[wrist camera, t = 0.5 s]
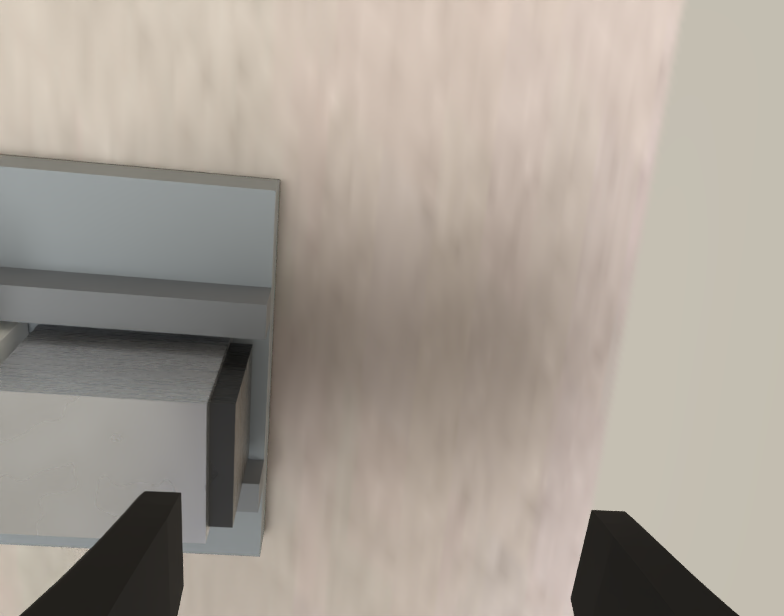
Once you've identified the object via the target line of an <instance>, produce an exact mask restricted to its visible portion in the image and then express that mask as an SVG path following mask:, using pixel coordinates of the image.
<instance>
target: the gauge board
mask: <svg viewBox="0 0 784 616" xmlns="http://www.w3.org/2000/svg"><path fill="white" fill-rule="evenodd" d="M279 190H280V180H278V179H266V178H255V177H244V176H233V175H222V174H211V173H200V172H189V171H178V170H167V169H156V168H144V167H133V166H122V165H111V164H100V163H89V162H78V161H67V160H56V159H45V158H33V157H22V156H11V155H0V321H9V322H23V323H28V332H29V334H30V333H31V332H32V331H33V330H34V328H35V327H36V326H37V325H38V324H50V325H64V326H78V327H92V328H106V329H120V330H133V331H147V332H161V333H175V334H189V335H203V336H216V337H230V338H233V343H242V344H253V350H252V380H251V409H250V439H249V457H248V461H247V466H246V470H245V475H244V479H243V484H242V488H241V493H240V497H239V501H238V506H237V510H236V515H235V519H234V524H233V528H226V527H210V529H209V533H208V536H207V540H206V544H200V543H183V553H197V554H218V555H238V556H259V557H260V553H261V547H262V541H263V534H264V520H265V498H266V476H267V454H268V432H269V410H270V388H271V366H272V344H273V322H274V300H275V278H276V256H277V234H278V212H279ZM98 540H99V538H78V537H58V536H38V535H17V534H0V544H10V545H31V546H51V547H72V548H91V547H92V546H93V545H94V544H95V543H96V542H97V541H98Z"/></svg>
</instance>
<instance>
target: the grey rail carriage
mask: <svg viewBox="0 0 784 616" xmlns="http://www.w3.org/2000/svg"><path fill="white" fill-rule="evenodd" d="M252 350H253V344H242V343H233V338H230V337H216V336H203V335H189V334H175V333H161V332H147V331H133V330H120V329H106V328H92V327H78V326H64V325H50V324H38V325H37V326H36V327H35V328H34V330H33V331H32V332H31V333H30V334H29V335H28V336H27V337H26V338H25V339H24V340H23V341H22V342H21V343H20V345H19V346H18V347H17V348H16V349H15V350H14V351H13V352H12V353H11V354H10V355H9V356H8V357H7V358H6V360H5V361H4V362H3V363H2V364H1V365H0V534H17V535H38V536H58V537H78V538H99V539H100V538H101V537H102V536H103V535H104V534H105V533H106V532H107V531H108V530H109V528H110V527H111V526H112V525H113V524H114V523H115V522H116V521H117V520H118V519H119V518H120V516H121V515H122V514H123V513H124V512H125V511H126V510H127V509H128V508H129V506H130V505H131V504H132V503H133V502H134V501H135V500H136V499H137V497H138V496H139V495H141V494H142V493H143V492H144V491H158V492H181V501H182V543H200V544H206V540H207V536H208V533H209V529H210V527H226V528H233V524H234V519H235V515H236V510H237V506H238V501H239V497H240V493H241V488H242V484H243V479H244V475H245V470H246V466H247V461H248V457H249V439H250V409H251V380H252Z"/></svg>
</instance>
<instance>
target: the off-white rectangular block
mask: <svg viewBox="0 0 784 616" xmlns="http://www.w3.org/2000/svg"><path fill="white" fill-rule="evenodd" d="M28 335H29V332H28V323H23V322H9V321H0V365H1V364H2V363H3V362H4V361H5V360H6V358H7V357H8V356H9V355H10V354H11V353H12V352H13V351H14V350H15V349H16V348H17V347H18V346H19V345H20V343H21V342H22V341H23V340H24V339H25V338H26V337H27V336H28Z"/></svg>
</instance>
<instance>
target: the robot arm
mask: <svg viewBox="0 0 784 616" xmlns="http://www.w3.org/2000/svg"><path fill="white" fill-rule="evenodd" d="M183 586H184V585H183V543H182V501H181V492H158V491H144V492H143V493H142V494H141V495H139V496H138V497H137V499H136V500H135V501H134V502H133V503H132V504H131V505H130V506H129V508H128V509H127V510H126V511H125V512H124V513H123V514H122V515H121V516H120V518H119V519H118V520H117V521H116V522H115V523H114V524H113V525H112V526H111V527H110V528H109V530H108V531H107V532H106V533H105V534H104V535H103V536H102V537H101V538H100V539H99V540H98V541H97V542H96V543H95V544H94V545H93V546H92V547H91V548H90V549H89V550H88V551H87V552H86V553H85V555H84V556H83V557H82V558H81V559H80V560H79V561H78V562H77V563H76V564H75V565H74V566H73V567H72V568H71V569H70V570H69V571H68V572H67V573H66V574H65V575H63V576H62V577H61V578H60V579H59V580H58V581H57V582H56V583H55V584H54V585H53V586H52V587H51V588H49V589H48V590H47V591H46V592H45V593H44V594H43V595H42V596H41V597H40V598H38V599H37V600H36V601H35V602H34V603H33V604H32V605H31V606H30V607H29V608H27V609H26V610H25V611H24V612H23V613H22V614H21V615H20V616H177V615H178V610H179V605H180V600H181V595H182V591H183ZM571 603H572V607H573V612H574V616H739V615H738V614H737V613H735V612H734V611H733V610H732V609H731V608H730V607H728V606H727V605H726V604H725V603H724V602H723V601H721V600H720V599H719V598H718V597H717V596H716V595H715V594H713V593H712V592H711V591H710V590H709V589H708V588H707V587H706V586H704V584H702V583H701V582H700V581H699V580H698V579H697V578H696V577H695V576H693V574H691V573H690V572H689V571H688V570H687V569H686V568H685V567H684V566H683V565H682V564H681V563H680V562H679V561H677V560H676V559H675V558H674V557H673V556H672V555H671V554H670V553H669V552H668V551H667V550H666V549H665V548H664V547H663V546H662V545H660V544H659V542H657V541H656V540H655V539H654V538H653V537H652V536H651V535H650V534H649V533H648V532H647V531H646V530H645V529H644V528H642V526H640V525H639V524H638V523H637V522H636V521H635V520H634V519H633V518H632V517H630V516H629V515H628V514H627V513H626V512H623V511H601V510H591V515H590V519H589V523H588V527H587V532H586V536H585V540H584V544H583V548H582V553H581V557H580V561H579V565H578V570H577V574H576V578H575V582H574V586H573V591H572V595H571Z"/></svg>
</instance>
